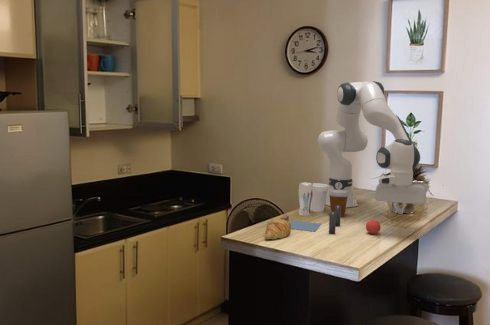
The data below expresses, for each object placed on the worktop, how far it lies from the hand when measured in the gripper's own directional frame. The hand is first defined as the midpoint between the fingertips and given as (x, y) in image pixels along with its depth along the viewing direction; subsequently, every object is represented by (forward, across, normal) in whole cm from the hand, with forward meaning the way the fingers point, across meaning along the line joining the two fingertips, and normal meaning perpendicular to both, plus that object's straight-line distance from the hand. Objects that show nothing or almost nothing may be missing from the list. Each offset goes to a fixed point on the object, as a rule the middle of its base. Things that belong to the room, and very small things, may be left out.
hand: (399, 213), depth 210 cm
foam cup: (+10, +40, -32) cm, 52 cm away
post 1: (+10, +26, +6) cm, 29 cm away
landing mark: (+10, +40, 0) cm, 41 cm away
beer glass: (+10, +44, -22) cm, 50 cm away
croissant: (+10, +47, +17) cm, 51 cm away
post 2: (+10, +26, -7) cm, 29 cm away
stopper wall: (+10, +49, 0) cm, 50 cm away
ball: (+7, +10, 0) cm, 12 cm away
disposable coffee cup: (+10, +29, -26) cm, 41 cm away
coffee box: (+10, 0, -46) cm, 47 cm away
